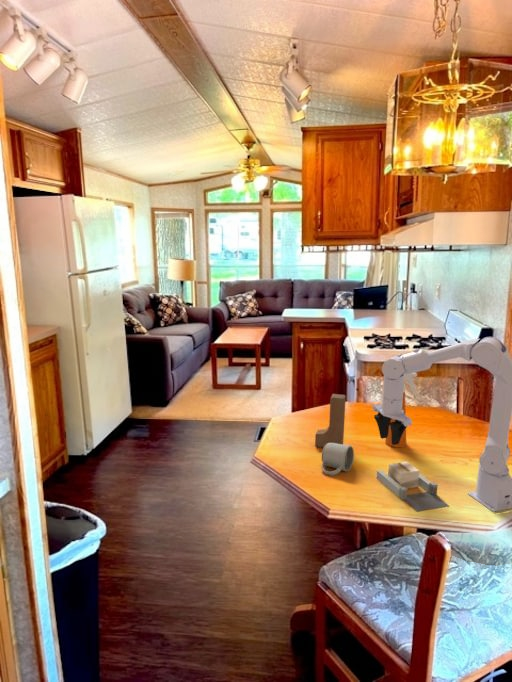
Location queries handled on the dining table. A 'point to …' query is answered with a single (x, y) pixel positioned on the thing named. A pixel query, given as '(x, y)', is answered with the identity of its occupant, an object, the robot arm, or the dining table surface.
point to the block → (404, 474)
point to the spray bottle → (403, 438)
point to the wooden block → (333, 423)
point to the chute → (402, 491)
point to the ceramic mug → (337, 457)
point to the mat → (424, 501)
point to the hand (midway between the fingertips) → (389, 440)
